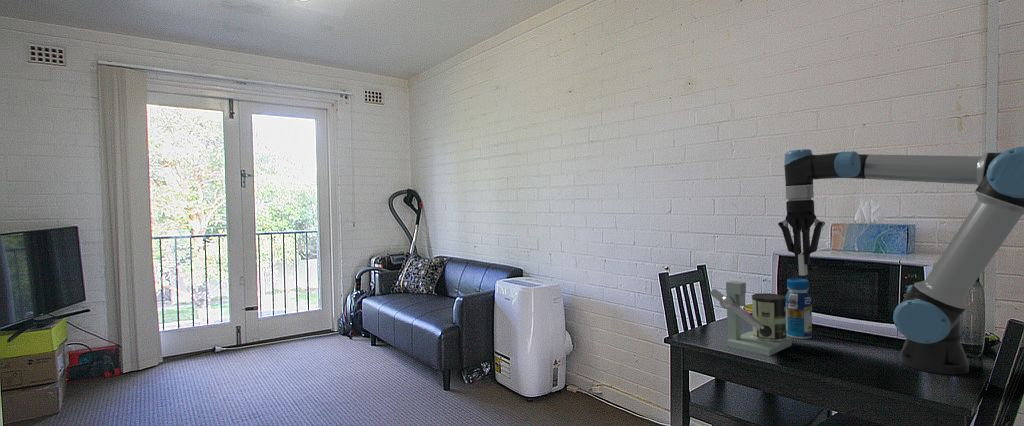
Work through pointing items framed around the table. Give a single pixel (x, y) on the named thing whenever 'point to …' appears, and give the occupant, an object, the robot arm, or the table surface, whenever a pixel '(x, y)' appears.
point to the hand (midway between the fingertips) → (803, 274)
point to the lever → (741, 312)
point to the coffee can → (770, 315)
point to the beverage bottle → (798, 309)
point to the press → (747, 339)
